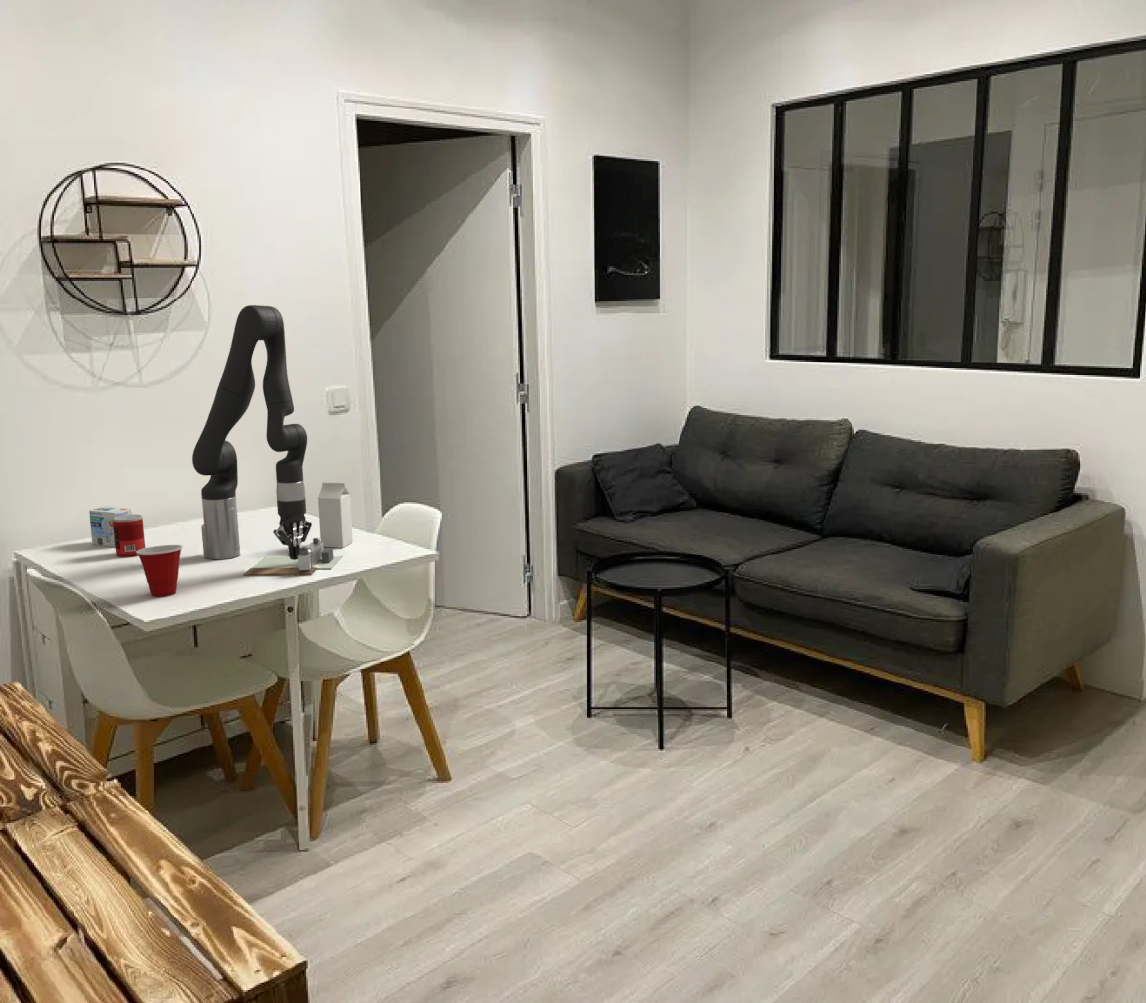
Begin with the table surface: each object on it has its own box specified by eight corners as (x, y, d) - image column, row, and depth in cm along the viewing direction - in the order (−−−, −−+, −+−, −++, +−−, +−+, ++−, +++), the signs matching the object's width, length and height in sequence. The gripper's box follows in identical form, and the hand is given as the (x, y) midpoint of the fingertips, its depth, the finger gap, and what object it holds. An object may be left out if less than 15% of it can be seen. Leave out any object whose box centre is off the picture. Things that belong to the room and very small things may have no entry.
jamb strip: (243, 575, 267) (243, 572, 267) (250, 570, 273) (250, 566, 273) (311, 575, 267) (311, 572, 267) (317, 569, 273) (317, 566, 273)
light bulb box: (91, 545, 303) (87, 510, 301) (109, 540, 310) (105, 505, 307) (118, 547, 299) (114, 512, 297) (135, 542, 306) (132, 508, 303)
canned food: (151, 552, 294) (148, 515, 291) (129, 558, 287) (125, 521, 284) (132, 549, 297) (129, 513, 295) (110, 555, 290) (106, 518, 288)
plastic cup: (176, 585, 259) (172, 540, 257) (193, 593, 251) (189, 547, 249) (133, 593, 252) (128, 547, 249) (150, 602, 244) (145, 554, 242)
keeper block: (322, 564, 278) (321, 552, 277) (326, 560, 283) (325, 548, 282) (329, 564, 278) (328, 552, 277) (333, 560, 283) (332, 548, 282)
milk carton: (343, 548, 296) (339, 485, 292) (320, 547, 298) (316, 484, 294) (353, 542, 303) (349, 480, 299) (331, 541, 304) (327, 480, 301)
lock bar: (310, 570, 268) (309, 551, 267) (298, 570, 268) (297, 551, 267) (324, 555, 283) (323, 537, 282) (313, 555, 283) (312, 537, 282)
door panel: (250, 570, 273) (250, 568, 273) (265, 557, 286) (265, 556, 286) (331, 569, 273) (331, 567, 273) (342, 557, 286) (342, 555, 285)
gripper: (283, 503, 266) (287, 566, 269) (318, 494, 277) (321, 555, 281) (263, 500, 269) (267, 562, 273) (297, 492, 281) (301, 552, 284)
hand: (295, 558), depth 277 cm, fingers closed
